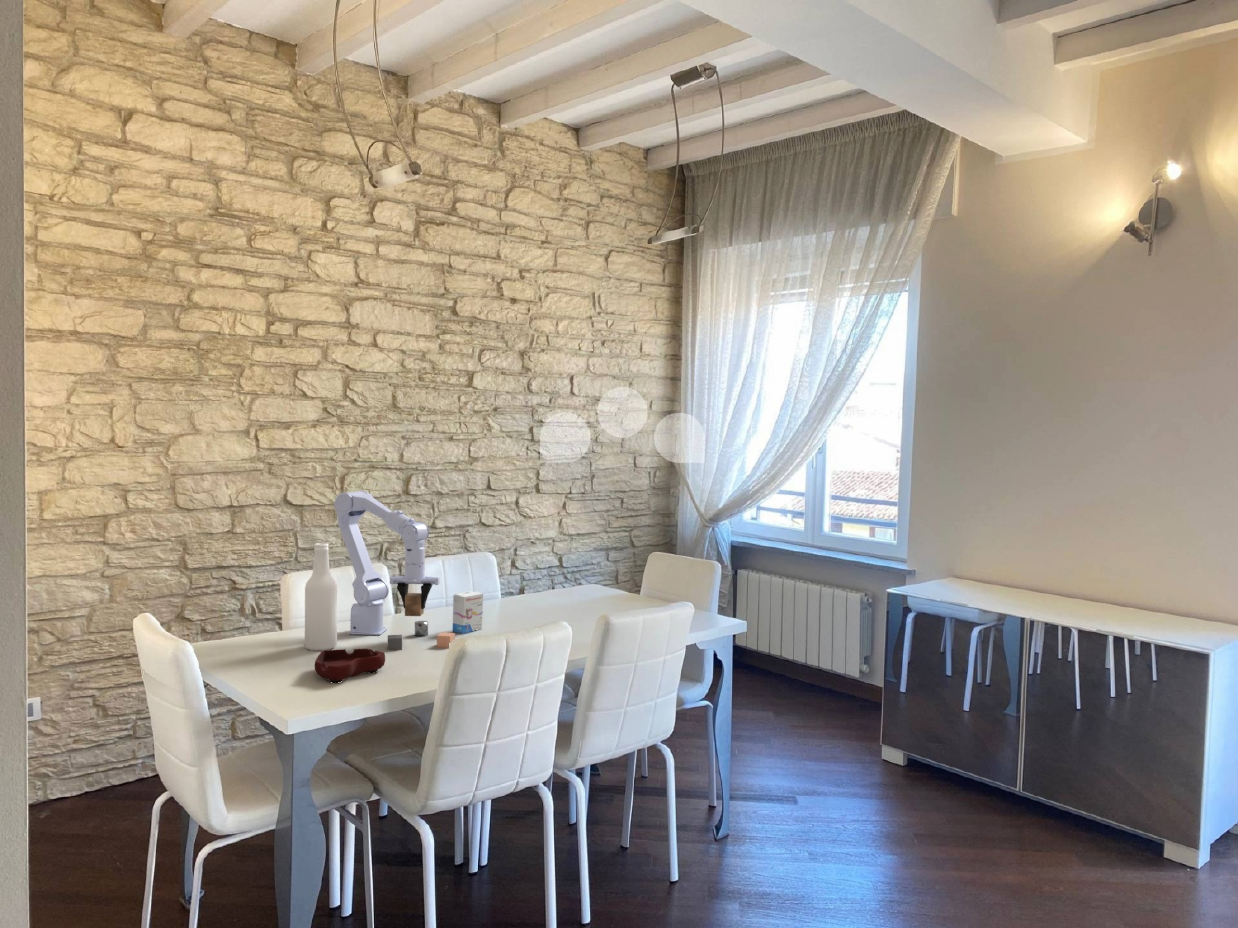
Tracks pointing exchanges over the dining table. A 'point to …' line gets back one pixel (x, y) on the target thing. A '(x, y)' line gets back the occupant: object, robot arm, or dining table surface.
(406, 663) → the dining table surface
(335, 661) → the ashtray
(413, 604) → the walnut block
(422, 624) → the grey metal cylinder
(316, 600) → the white bottle
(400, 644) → the charcoal rubber block
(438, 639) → the terracotta block
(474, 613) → the ink box
